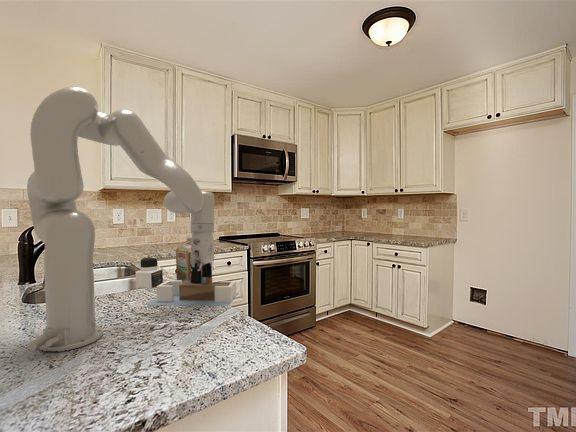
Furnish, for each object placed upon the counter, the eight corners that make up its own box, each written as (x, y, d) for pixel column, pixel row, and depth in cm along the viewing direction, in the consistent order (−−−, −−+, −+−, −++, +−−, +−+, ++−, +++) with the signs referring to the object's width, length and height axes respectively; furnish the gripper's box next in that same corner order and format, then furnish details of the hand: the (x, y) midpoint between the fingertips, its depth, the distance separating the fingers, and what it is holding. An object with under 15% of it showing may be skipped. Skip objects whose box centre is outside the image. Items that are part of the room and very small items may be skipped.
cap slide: (172, 301, 98) (171, 286, 97) (156, 301, 98) (156, 286, 98) (182, 294, 105) (182, 280, 105) (168, 294, 106) (167, 280, 106)
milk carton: (176, 283, 126) (175, 238, 125) (199, 278, 133) (198, 236, 133) (188, 287, 118) (187, 239, 118) (212, 282, 126) (211, 237, 125)
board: (228, 309, 93) (228, 305, 93) (144, 308, 95) (144, 304, 95) (238, 295, 107) (238, 292, 107) (165, 294, 109) (165, 292, 109)
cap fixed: (230, 302, 96) (230, 287, 96) (214, 302, 97) (214, 286, 97) (236, 295, 104) (236, 281, 104) (221, 295, 104) (221, 281, 104)
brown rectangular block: (226, 300, 98) (226, 285, 98) (179, 300, 100) (179, 285, 99) (229, 297, 102) (229, 282, 102) (184, 296, 103) (183, 282, 103)
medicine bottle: (152, 290, 115) (151, 259, 114) (135, 290, 116) (134, 259, 116) (163, 285, 122) (162, 256, 121) (147, 285, 123) (146, 256, 123)
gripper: (204, 230, 91) (203, 286, 91) (221, 227, 108) (220, 275, 108) (180, 229, 91) (179, 285, 92) (200, 227, 109) (200, 274, 109)
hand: (201, 280), depth 100 cm, fingers open, 9 cm apart
